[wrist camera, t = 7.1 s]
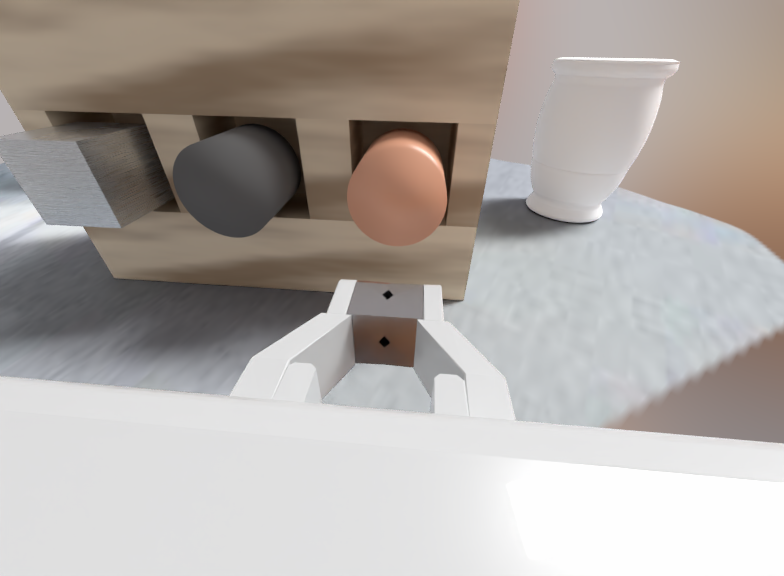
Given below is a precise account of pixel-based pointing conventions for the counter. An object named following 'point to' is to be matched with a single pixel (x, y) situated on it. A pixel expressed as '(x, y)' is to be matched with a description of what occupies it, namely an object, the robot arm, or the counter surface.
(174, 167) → the dark grey cylinder
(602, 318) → the counter surface
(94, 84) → the wooden holder box
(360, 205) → the terracotta button
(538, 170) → the jar
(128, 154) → the gray metal cube
